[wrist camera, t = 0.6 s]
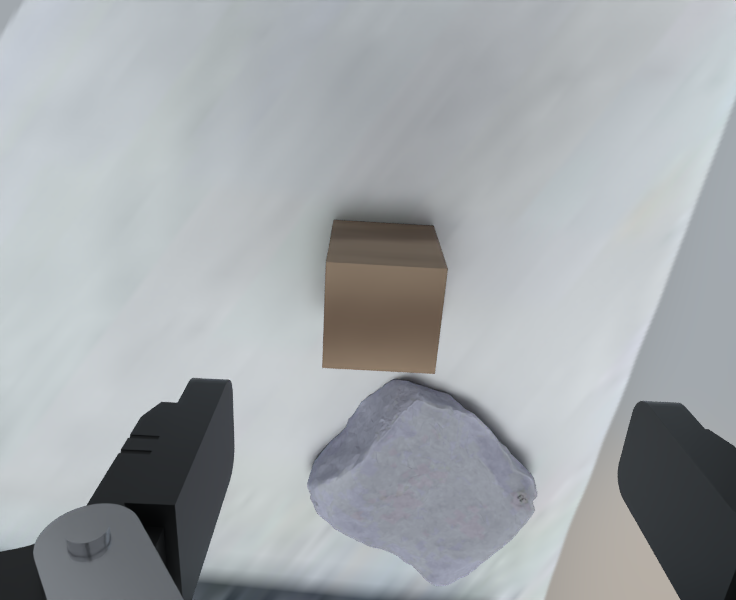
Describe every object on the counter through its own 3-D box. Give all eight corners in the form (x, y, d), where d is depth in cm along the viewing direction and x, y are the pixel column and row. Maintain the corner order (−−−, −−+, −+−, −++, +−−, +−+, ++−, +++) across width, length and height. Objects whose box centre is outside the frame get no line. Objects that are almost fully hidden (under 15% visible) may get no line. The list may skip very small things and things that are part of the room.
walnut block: (333, 219, 30) (325, 262, 25) (433, 225, 30) (447, 269, 25) (330, 310, 32) (322, 367, 27) (423, 315, 32) (434, 373, 27)
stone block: (394, 345, 35) (294, 473, 37) (412, 378, 31) (297, 523, 32) (538, 443, 39) (441, 557, 40) (573, 486, 34) (463, 613, 35)
